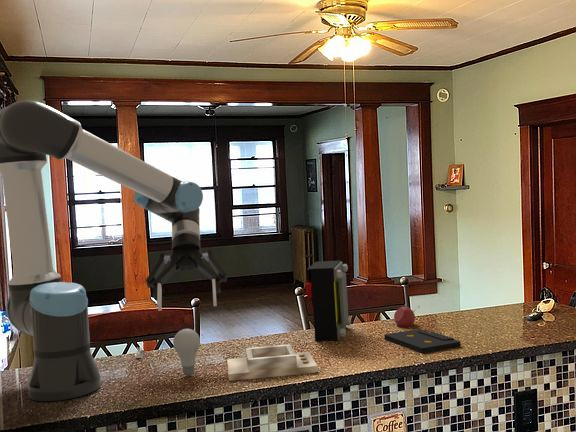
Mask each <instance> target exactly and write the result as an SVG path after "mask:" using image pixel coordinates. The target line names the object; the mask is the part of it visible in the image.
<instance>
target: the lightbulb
mask: <svg viewBox="0 0 576 432" xmlns="http://www.w3.org/2000/svg"><path fill="white" fill-rule="evenodd" d="M172 344H173V349H174V351H175V352H176V353H177V355H178V357H179V359H180V365H181V367H182V373H183V375H184V376H186V377H189V378H190V377H191V376H192V375H194V374H195V364H196V357H197V353H198V351H199V348H200V347H201V338H200V335H199V333H197V332H196V331H195V330H194V329H191V328H183V329H181V330H179V331H177V333H176V334H175V336H174V337H173V343H172Z"/></svg>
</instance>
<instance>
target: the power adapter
mask: <svg viewBox="0 0 576 432" xmlns="http://www.w3.org/2000/svg"><path fill="white" fill-rule="evenodd" d="M136 349H137V350H136V352H137V353H134V359H135V358H139V359H140V358H141V359H144V352H143V351H144V350H143V348H142V346H139V347H136Z"/></svg>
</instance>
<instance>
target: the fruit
mask: <svg viewBox="0 0 576 432" xmlns="http://www.w3.org/2000/svg"><path fill="white" fill-rule="evenodd" d="M418 308H420V306H419V305H418ZM393 319H394V322H395V324H396V325H397V326H398V327H401V328H404V327H405V328H407V327H412V326H413V325H414V323H415V320H416V316H415V310H412V309H411V308H410V307H407V306H400V307H398V308H397V309H396V310H395V312H394V314H393Z"/></svg>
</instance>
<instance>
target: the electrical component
mask: <svg viewBox="0 0 576 432" xmlns="http://www.w3.org/2000/svg"><path fill="white" fill-rule="evenodd" d="M348 270H349V266H348V264H347V263H343V261H342V260H328V261H327V260H325V261H324V260H321V261H316V262H314V263H313V264H311V265H310V266H309V267H307V268H306V279H307V282H305V283H304V285H305V286H304V287H305V292H306V298H308V299H309V298H310V299H311V305H312V310H313V328H314V329H313V330H314V342H338V341H340V340H341V338H342V337H346V335H347V330H346V328H347V326H349V327H350V326H351V324H352V320H351V318H350V317H349V305H348V302H349V301H348V285H347V273H346V272H348Z"/></svg>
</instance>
